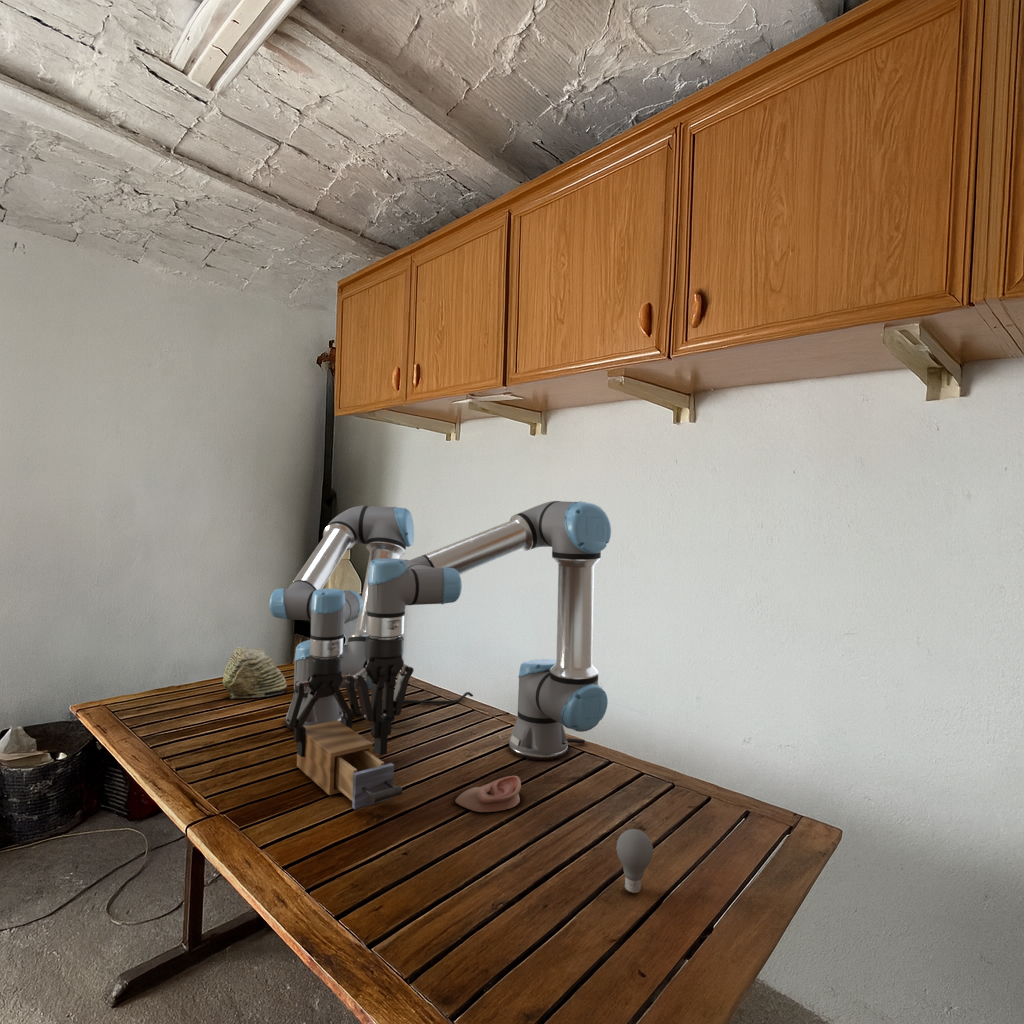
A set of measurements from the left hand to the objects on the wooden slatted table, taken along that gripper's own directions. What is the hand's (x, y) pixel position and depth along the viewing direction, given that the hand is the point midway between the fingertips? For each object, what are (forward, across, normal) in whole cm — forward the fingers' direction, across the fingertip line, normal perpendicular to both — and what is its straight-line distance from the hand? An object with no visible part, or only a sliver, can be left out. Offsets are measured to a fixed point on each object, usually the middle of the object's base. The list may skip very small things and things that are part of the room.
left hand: (322, 749), depth 149 cm
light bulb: (+4, +22, -75) cm, 78 cm away
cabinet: (+4, 0, -6) cm, 7 cm away
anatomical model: (+4, +22, -36) cm, 42 cm away
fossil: (+4, +4, +61) cm, 61 cm away
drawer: (+3, 0, -20) cm, 20 cm away
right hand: (-9, 0, -28) cm, 29 cm away
